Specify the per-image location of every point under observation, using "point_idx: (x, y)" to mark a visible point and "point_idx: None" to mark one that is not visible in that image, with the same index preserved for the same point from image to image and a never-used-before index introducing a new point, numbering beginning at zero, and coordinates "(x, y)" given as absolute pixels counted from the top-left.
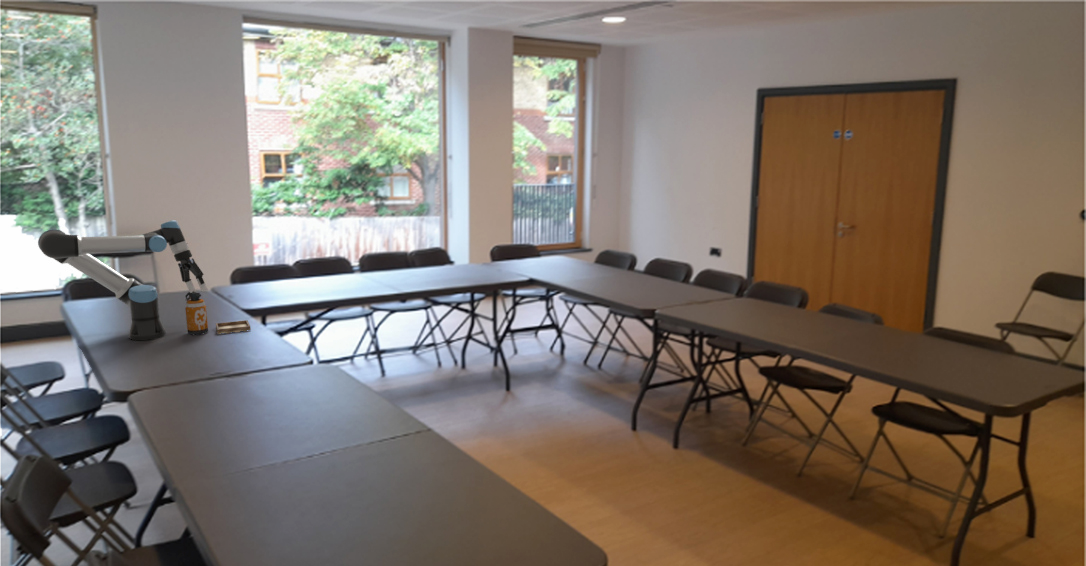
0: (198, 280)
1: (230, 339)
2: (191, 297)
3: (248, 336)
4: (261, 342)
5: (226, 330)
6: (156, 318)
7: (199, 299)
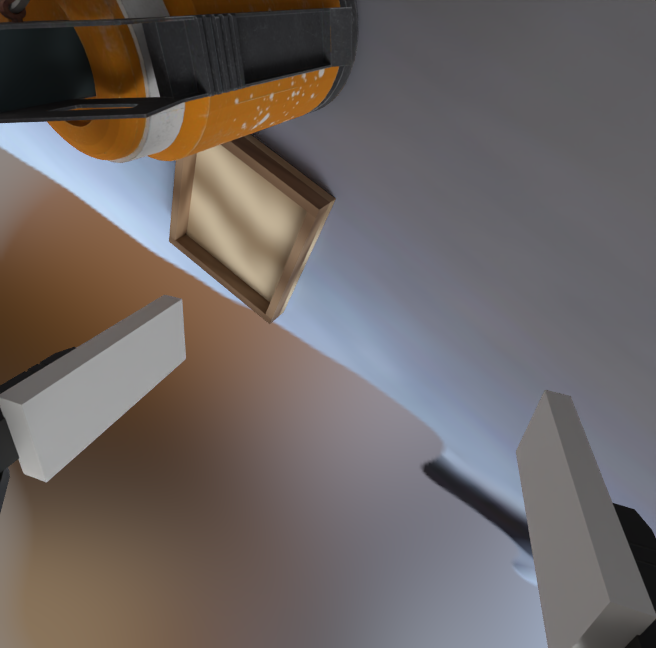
0: (35, 387)
1: None
2: (10, 22)
3: None
4: None
5: None
6: None
7: (79, 124)
